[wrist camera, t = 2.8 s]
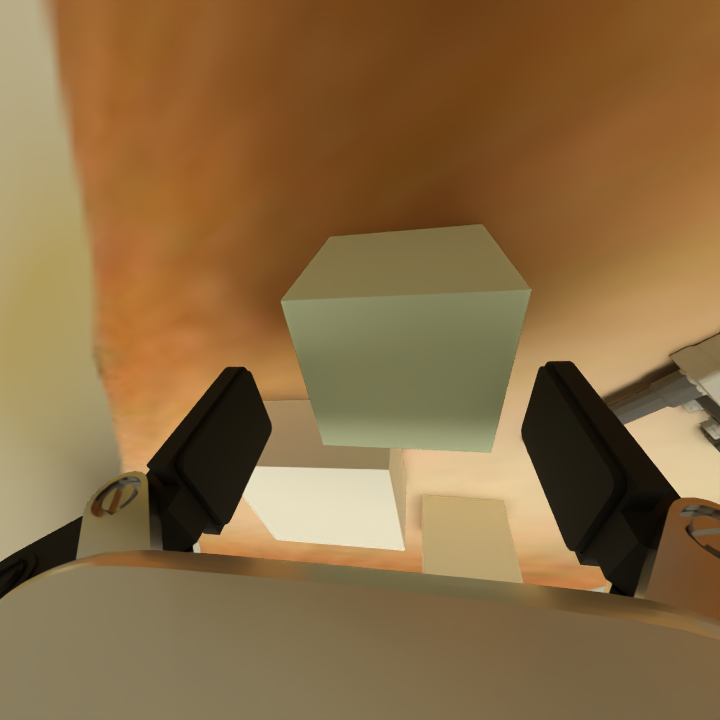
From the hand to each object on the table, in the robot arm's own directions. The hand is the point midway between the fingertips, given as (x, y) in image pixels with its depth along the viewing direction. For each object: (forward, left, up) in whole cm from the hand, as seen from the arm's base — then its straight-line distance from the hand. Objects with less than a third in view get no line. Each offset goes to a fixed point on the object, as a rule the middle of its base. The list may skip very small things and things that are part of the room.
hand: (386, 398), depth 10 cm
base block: (+10, -4, -6) cm, 12 cm away
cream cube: (+19, +5, -6) cm, 20 cm away
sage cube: (-1, +1, -6) cm, 6 cm away
